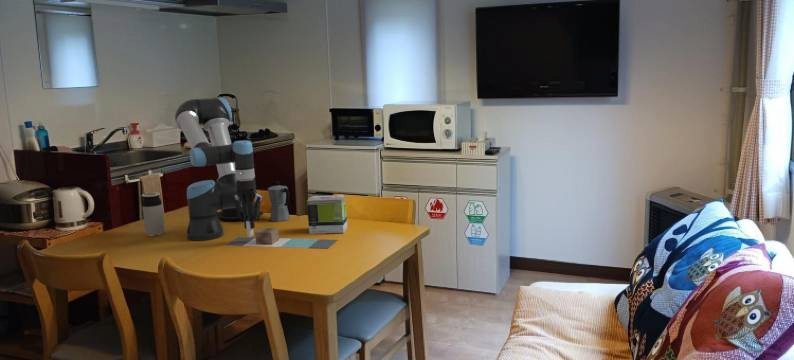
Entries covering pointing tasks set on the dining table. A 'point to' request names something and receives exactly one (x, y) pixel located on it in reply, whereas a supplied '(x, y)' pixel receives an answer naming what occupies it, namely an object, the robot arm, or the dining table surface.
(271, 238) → the walnut block
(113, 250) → the dining table surface
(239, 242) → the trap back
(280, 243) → the tile
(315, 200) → the tea box
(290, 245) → the pad
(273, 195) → the coffeepot
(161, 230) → the travel mug
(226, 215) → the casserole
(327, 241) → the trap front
